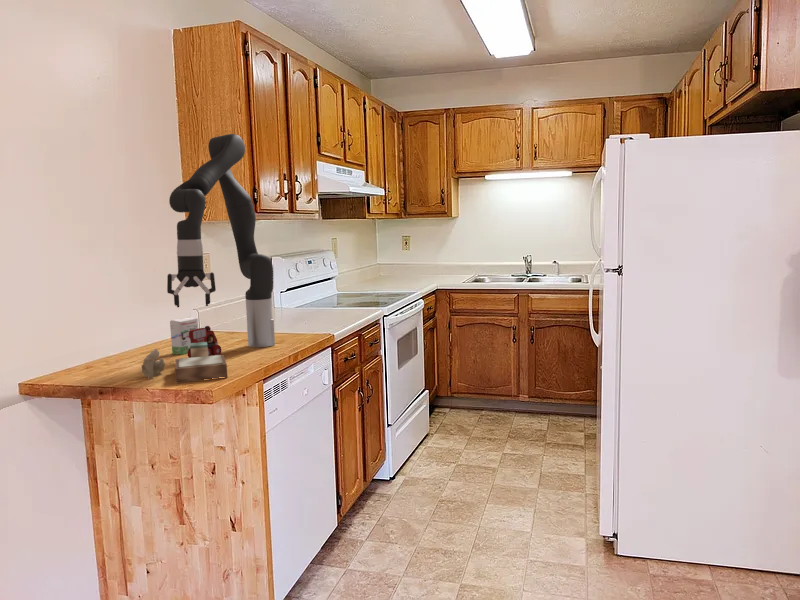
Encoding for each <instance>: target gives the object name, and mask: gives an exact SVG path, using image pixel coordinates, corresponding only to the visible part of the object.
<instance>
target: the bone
mask: <svg viewBox="0 0 800 600" xmlns="http://www.w3.org/2000/svg"><path fill="white" fill-rule="evenodd" d="M159 356H160V351H159V350H158V348H155V349H154V350H151V352H150V353H149V354H147V355H146V356H145V358H144V359H143V362H142V364H141V368H140V369H141V371H140V372H141V374H142V376H143V377H144V378H145V377H147V378H148V380H153V379H154V378H153V377H154V376H160V375H163V373H162V372H163V370H164V368H166V367H165V366H166V363H165V359H164V358H163V357H160V358H159ZM158 358H159V360H158Z"/></svg>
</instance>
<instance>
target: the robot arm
mask: <svg viewBox="0 0 800 600" xmlns="http://www.w3.org/2000/svg"><path fill="white" fill-rule="evenodd" d="M208 152H209V156H210V160H208V161H207V162H205V163H203V164H202V165H201V166H199V167H198V168H197V169H196V170H195V172H194V173H193V174H192V175H191V176H190V178H189V179H188V180H186V181H184V182H183V183H181V184H180V185H178V186H177V187H175V188H174V189H173V191H171V193H170V195H169V202H168V203H169V205H170V208H171V209H172V210H173V211H174V212H176V213H188V216H187V218H186V219H182V220H180V221H178V222H177V224H176V238H177V243H176V258H177V274H176V273H174V274H173V273H168V274H167V283H166V284H167V286H166V287H167V288H166V290H167V291H166V292H167V294H169V295H172V296H173V303H174V306H176V308H180V296H179V295H180V294H179V293H180V292H181V290H182V289H183V287H184V288H191V287H193V288H197V287H200V289H202V291H204V292H205V296H204V297H205V298H204V299H205V307H208V306H209V305H210V303H211V293H214V292H216V290H217V289H216V288H217V287H216V282H215V281H216V280H215V273H214V272H213V271H212V272H207V273H205V272H204V255H203V254H204V251H203V243H202V229H201V228H202V222H203V218H204V213H205V209H206V196H207V195H208V194H209V193H210V191H211V190H212V189H213V187H214V186H215V185H216V184H217V182H218V183H219V185H220V189H221V192H222V196H223V200H224V204H225V209H226V212H227V216H228V219H229V223H230V226H231V230H232V234H233V238H234V242H235V246H236V251H237V258H238V265H239V269H240V273H241V275H243V276H244V277H245V278H246V279H247V280H248V279H249V280H250V282H249V285H250V286H249V288H248V289H247V290H246V291H245V292H244V294H245V296H244V297H245V308H246V309H245V312H246V314H245V315H246V329H247V330H246V331H247V345H248V347H250V348H266V347H271V346H276V339H275V323H274V322H275V320H274V317H273V300H272V299H273V298H272V295H273V291H274V266H273V261H272V259H271V258H270V257H269V256H267V255H265V254H259V252H258V250H257V246H256V240H255V230H256V220H257V219H256V218H257V217H256V212H255V207H254V203H253V200H252V198H251V195H250V194H249V193H248V191H246V189H245V188H244V187H243V186H242V185H241V184H240V183H239V181H238V180H237V179H236V178H235V176H234V174H233V172H232V169H231V168H232V167H233V166H234V165H236V164H237V163H238V162H240V161H241V160H242V159H243V158H244V156H245V153H246V146H245V142H244V139H243V138H242V137H241V136H240V135H238V134H236V133H228V134H223V135H218V136H213V137H212V138H210V139H209V141H208ZM206 278H207V279H208V281H210V287H211V288H208V287H207V286H206V284H205V283H204V282H203V281H204V279H206ZM175 279H177V280H178V282H179V284H178V286H177V287H176V288H175V290H174V289H173V287H172V286H173V282H174V281H175Z"/></svg>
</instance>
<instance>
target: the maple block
mask: <svg viewBox="0 0 800 600" xmlns="http://www.w3.org/2000/svg"><path fill="white" fill-rule="evenodd" d="M190 349H191V358H193V357H204V356H208V345H207V342H200V343H190Z"/></svg>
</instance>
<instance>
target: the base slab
mask: <svg viewBox="0 0 800 600" xmlns="http://www.w3.org/2000/svg"><path fill="white" fill-rule="evenodd" d="M174 363H175V364H174V373H175V376H174V377H175V383H176V384H178V383H179V384H180V383H190V381H191V382H197V381H196V380H201V381H205V380H204V379H211V380H213V379H212V378H219V377H227V378H228V365H227V361H226V358H225V355H224V354H222V355H215V356H212V355H211V356H204V357H193V358H189V357H185V358H183V357H182V358H177V359H175V362H174Z"/></svg>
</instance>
